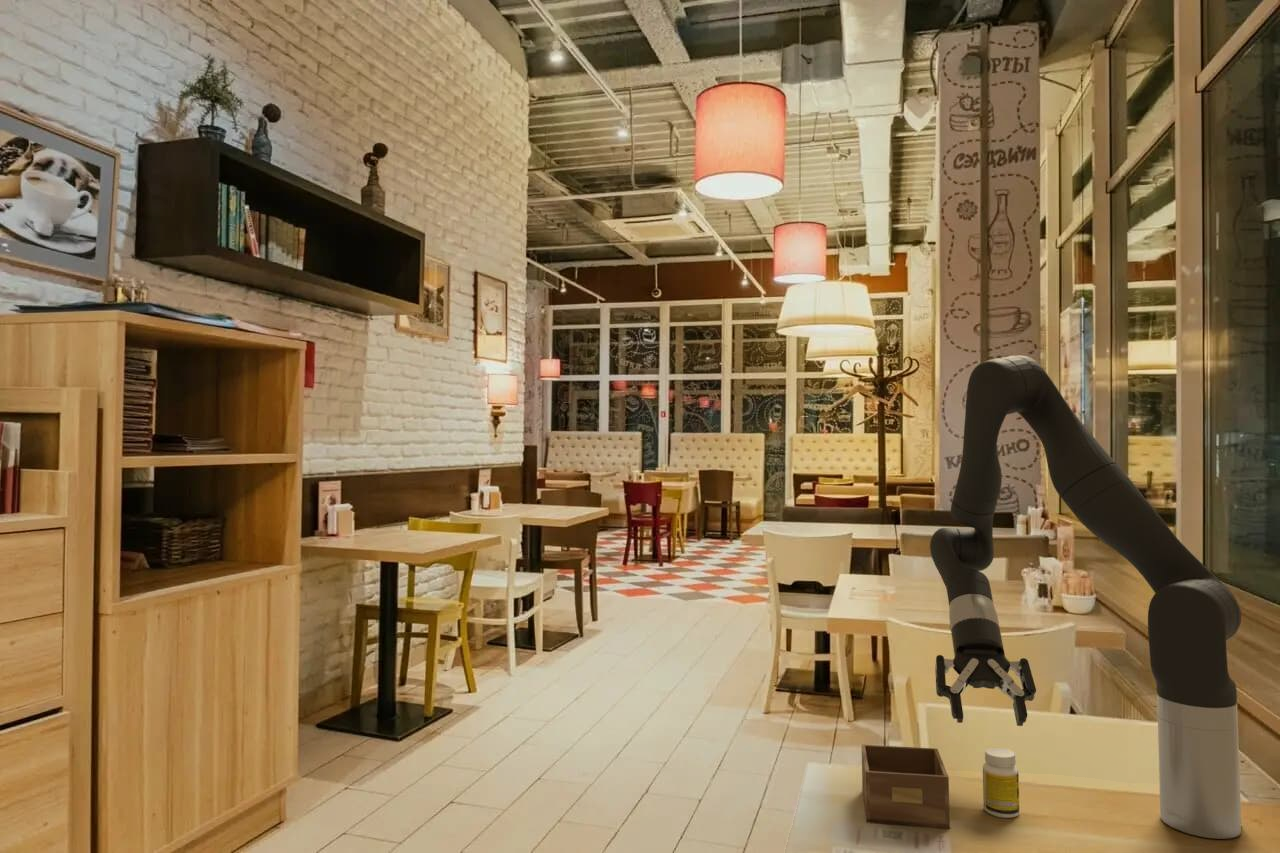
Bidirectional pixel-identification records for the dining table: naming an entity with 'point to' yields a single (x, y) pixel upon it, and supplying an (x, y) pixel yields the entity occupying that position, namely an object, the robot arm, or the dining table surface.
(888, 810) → the wooden box
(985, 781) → the supplement bottle
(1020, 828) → the dining table surface
